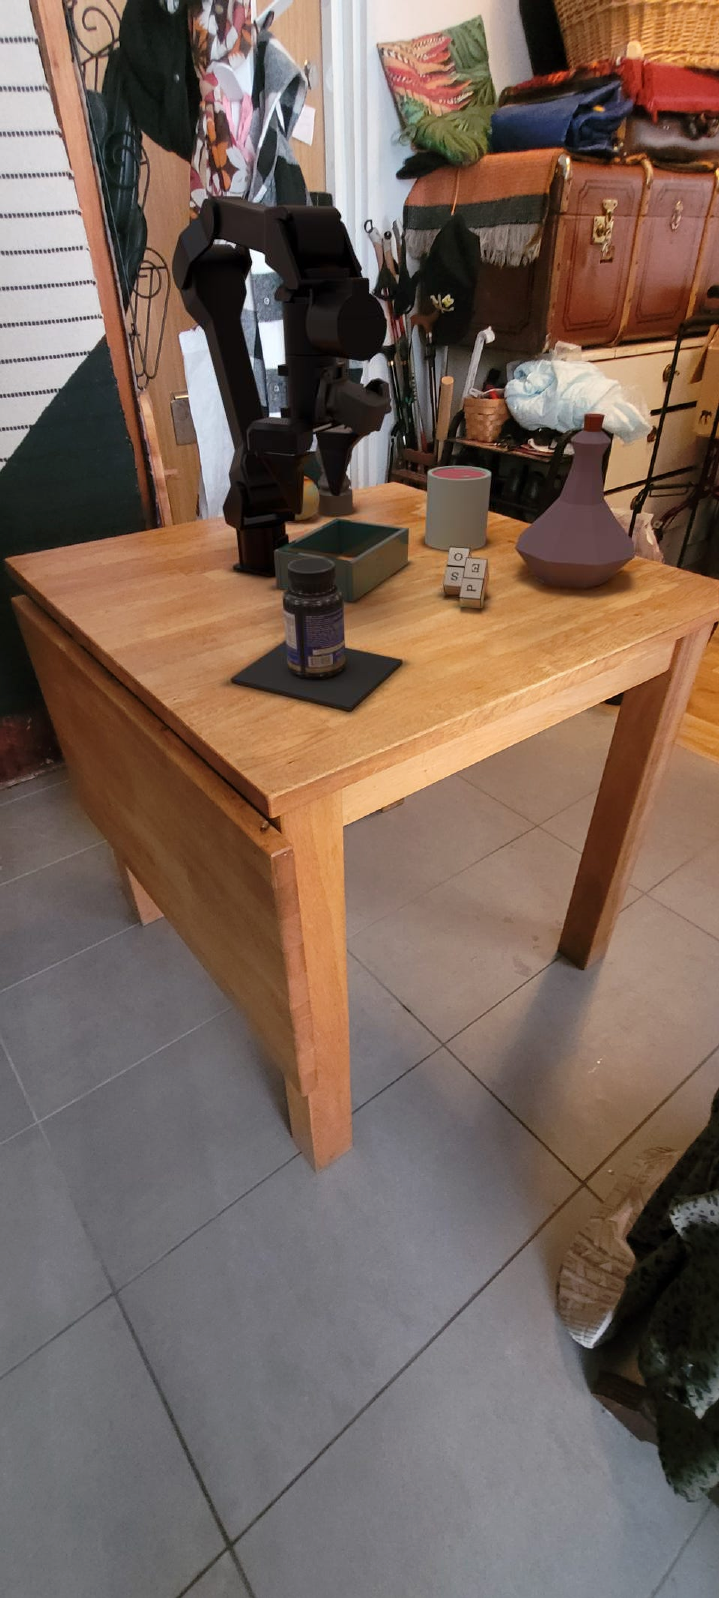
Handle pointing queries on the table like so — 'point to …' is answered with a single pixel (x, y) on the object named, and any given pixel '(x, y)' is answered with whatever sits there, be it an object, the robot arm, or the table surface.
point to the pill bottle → (314, 619)
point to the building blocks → (466, 577)
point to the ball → (309, 500)
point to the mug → (457, 507)
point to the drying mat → (332, 691)
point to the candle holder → (327, 501)
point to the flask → (578, 523)
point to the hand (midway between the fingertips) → (317, 504)
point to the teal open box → (349, 554)
